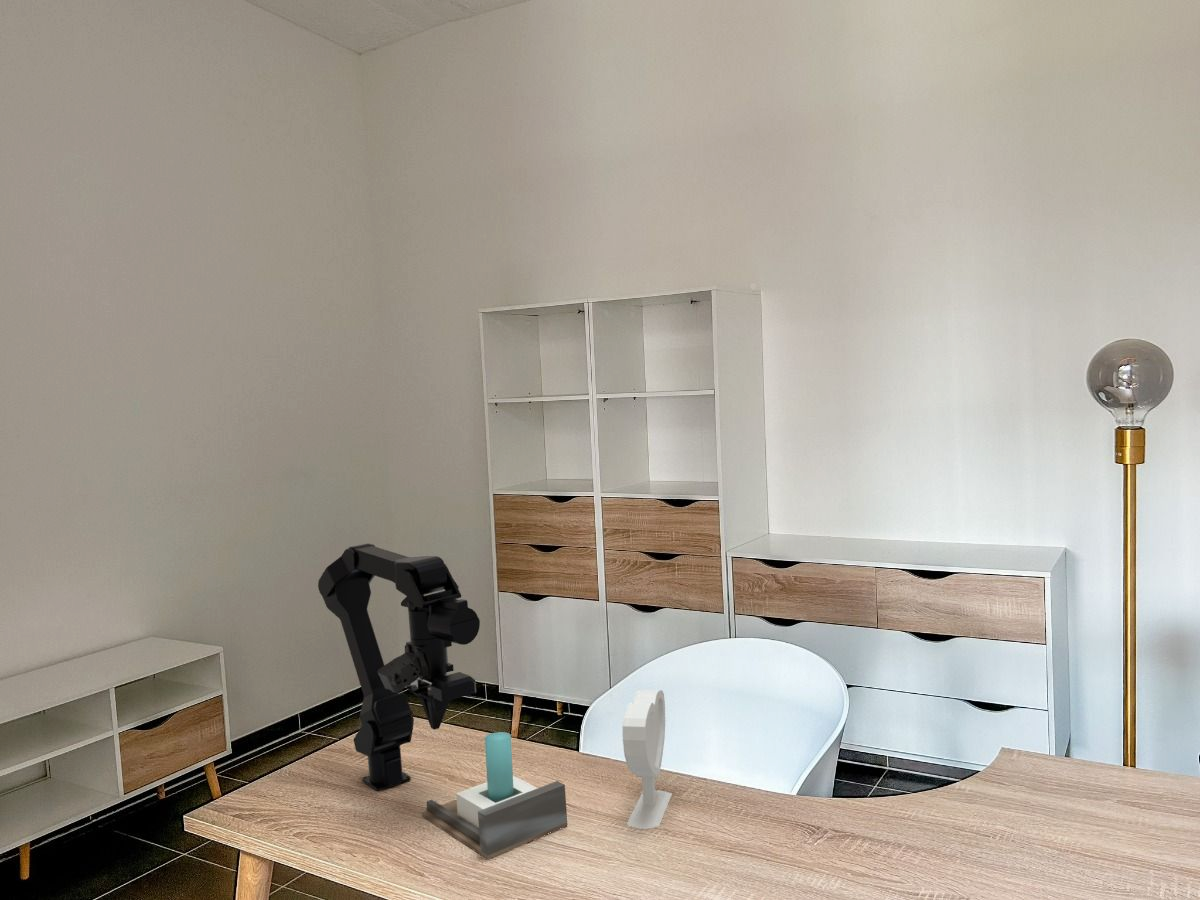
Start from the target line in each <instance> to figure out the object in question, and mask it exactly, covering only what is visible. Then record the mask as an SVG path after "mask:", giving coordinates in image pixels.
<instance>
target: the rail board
mask: <svg viewBox="0 0 1200 900" xmlns="http://www.w3.org/2000/svg"><path fill="white" fill-rule="evenodd" d="M536 788H537V789H535V790H532V791H529V792H527V793H524V794H522V795H519V796H516V797H514V798H511V799H509V800H506V801H503V802H501V803H498V804H496V805H493V806H490V807H488V808H485V809H483V810H480V811H478V822H479V829H478V828H476V827H475V826H473V825H472V824H470V823H468V822H467V821H465V820H464V819H462V818H460V817H459V816H458V812H457V799H453V800H452V801H449V802H446V803H443V804H440V803H439V802H436V801H435V800H433V799H429V800H426V801H425V804H426V810H424V811H422V812H421V816H422V817H423V818H424V819H426V820H427V821H429V822H430V823H432V824H434V825H435V826H436V827H438V828H440V829H441V830H443V831H444V832H446V833H447V834H449V835H450V836H452V837H453V838H455V839H457V840H458V841H459V842H461V844H462V843H463V844H464V845H466V846H467V847H468V848H470V849H471V850H473V851H474V852H476V853H478V854H479V855H480V856H482V857H484V859H487V860H491V859H493V858H496V857H498V856H500V855H503V854H505V853H507V852H510V851H512V850H515V849H516V847H517V848H519V847H522V846H524V845H526V844H528V842H529V843H531V842H533V841H532V840H534V841H535V839H536V840H537V838H538V839H540V838H539V837H541V838H542V836H543V837H545V836H547V835H546V834H548V833H550V832H552V833H554V832H553V831H555V830H557V831H559V830H561V829H560V828H562V829H564V828H566V827H568V826H567V825H568V813H567V798H566V797H567V796H566V784H564V783H563V782H560V781H558V780H556V781H554V782H551V783H548V784H545V785H542V786H540V787H536ZM565 826H566V827H565ZM563 827H564V828H563ZM558 829H559V830H558ZM555 832H556V831H555ZM550 834H551V833H550ZM544 835H545V836H544ZM548 835H549V834H548ZM530 841H531V842H530ZM525 843H526V844H525ZM523 844H524V845H523ZM521 845H522V846H521ZM514 848H515V849H514Z"/></svg>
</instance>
